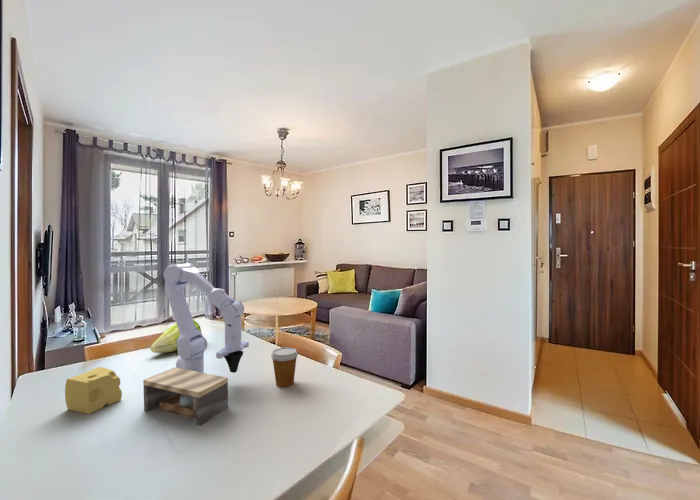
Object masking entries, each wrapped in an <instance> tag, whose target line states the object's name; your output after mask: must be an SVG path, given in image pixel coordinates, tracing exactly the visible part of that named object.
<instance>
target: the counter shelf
mask: <svg viewBox="0 0 700 500" xmlns="http://www.w3.org/2000/svg"><path fill="white" fill-rule="evenodd" d="M177 393H180V394H185V395H189V396H193V397H195V408H196V419H195V426H199V427H200V426H202V425H204V424H205V423H207V422H208V421H210V420H212V419H214V417H216V416H218V415H219V414H220V413H222V412H224V411H226V410H228V409H229V378H228V377H226V376H222V375H216V374H210V373H206V372H204V373H201V372H196V371H191V370H185V369H180V368H176V367H172V368H169V369H167V370H165V371H162V372H160V373H157V374H155V375H152V376H150V377H148V378H144V379H143V410H144V411H145V412H149V411H151V410H153V409H156V408H158V407H160V402H161V401H163V400H165V399H167V398H169V397H171V396H173V395H175V394H177Z"/></svg>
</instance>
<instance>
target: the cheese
mask: <svg viewBox="0 0 700 500" xmlns="http://www.w3.org/2000/svg"><path fill="white" fill-rule="evenodd" d="M120 385H121V378H120V376H118V375H117V374H116V371H114V370H112V369H109V368H107V367H101V366H100V367H99V366H98V367H96V368H94V369H91V370H89V371H86V372H84V373H81V374H78V375H75V376H72V377H68V378H66V383H65V388H64V398H65V405H66V407H67V410H68V409H70V410H69V411H72V410H73V412H77V411H78V412H77V413H82V414H86V415H91V414H93V413H95V412H97V411H99V410H101V409H103V408H105V407H104V406H107V405H108V406H109V405H113V404H115V403H118V402H119V401H121V400H122V397H123V393H122V389H120Z"/></svg>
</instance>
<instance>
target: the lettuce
mask: <svg viewBox="0 0 700 500" xmlns="http://www.w3.org/2000/svg"><path fill="white" fill-rule="evenodd" d="M193 322H194V325H195V328H196V329H197V330H199V331H201V332H202V328H201V326H200V324H199V323H198V321H196V320H195V319H193ZM179 336H180V332H179V329H178V326H177V323H175V324H173V325H172V326H170V327H168V329H166V330H165V331H164V332H163V333H162V334H161V335H160V336H159V337H158V338H157V339H156V340H155V341H154V342H152V344H151V345H150V350H151V352H152V353H155V354H162V353H163V354H164V353H172V352H176V351H178V344H177V340H178V338H179Z"/></svg>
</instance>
